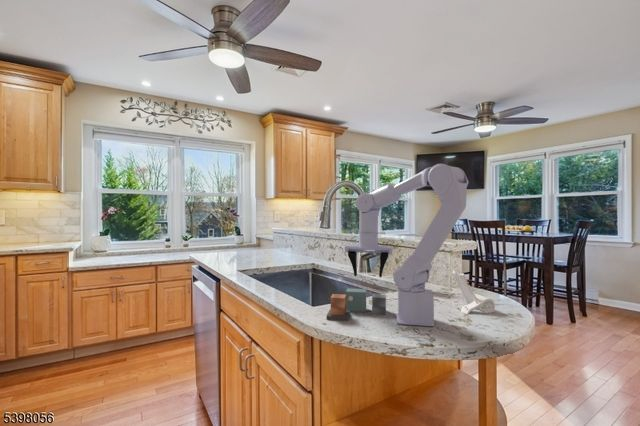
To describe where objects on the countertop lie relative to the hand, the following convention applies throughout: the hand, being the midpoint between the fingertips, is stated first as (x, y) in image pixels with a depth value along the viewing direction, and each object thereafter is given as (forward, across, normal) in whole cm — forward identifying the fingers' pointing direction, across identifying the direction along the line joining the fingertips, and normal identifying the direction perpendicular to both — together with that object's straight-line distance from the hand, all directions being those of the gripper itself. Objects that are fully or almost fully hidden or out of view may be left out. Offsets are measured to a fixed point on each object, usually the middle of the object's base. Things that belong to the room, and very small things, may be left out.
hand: (367, 276), depth 100 cm
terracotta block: (+9, +8, +9) cm, 15 cm away
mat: (+10, +8, +9) cm, 16 cm away
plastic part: (+10, -32, -6) cm, 34 cm away
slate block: (+10, -4, +2) cm, 11 cm away
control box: (+10, +3, +1) cm, 11 cm away
